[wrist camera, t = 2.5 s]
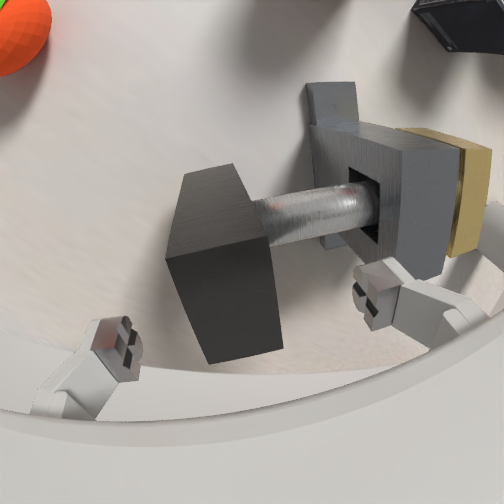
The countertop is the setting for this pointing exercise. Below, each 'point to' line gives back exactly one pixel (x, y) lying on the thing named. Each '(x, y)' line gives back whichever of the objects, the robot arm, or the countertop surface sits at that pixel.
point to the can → (493, 234)
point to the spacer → (465, 190)
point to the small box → (465, 24)
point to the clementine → (22, 32)
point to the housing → (385, 181)
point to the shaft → (248, 253)
